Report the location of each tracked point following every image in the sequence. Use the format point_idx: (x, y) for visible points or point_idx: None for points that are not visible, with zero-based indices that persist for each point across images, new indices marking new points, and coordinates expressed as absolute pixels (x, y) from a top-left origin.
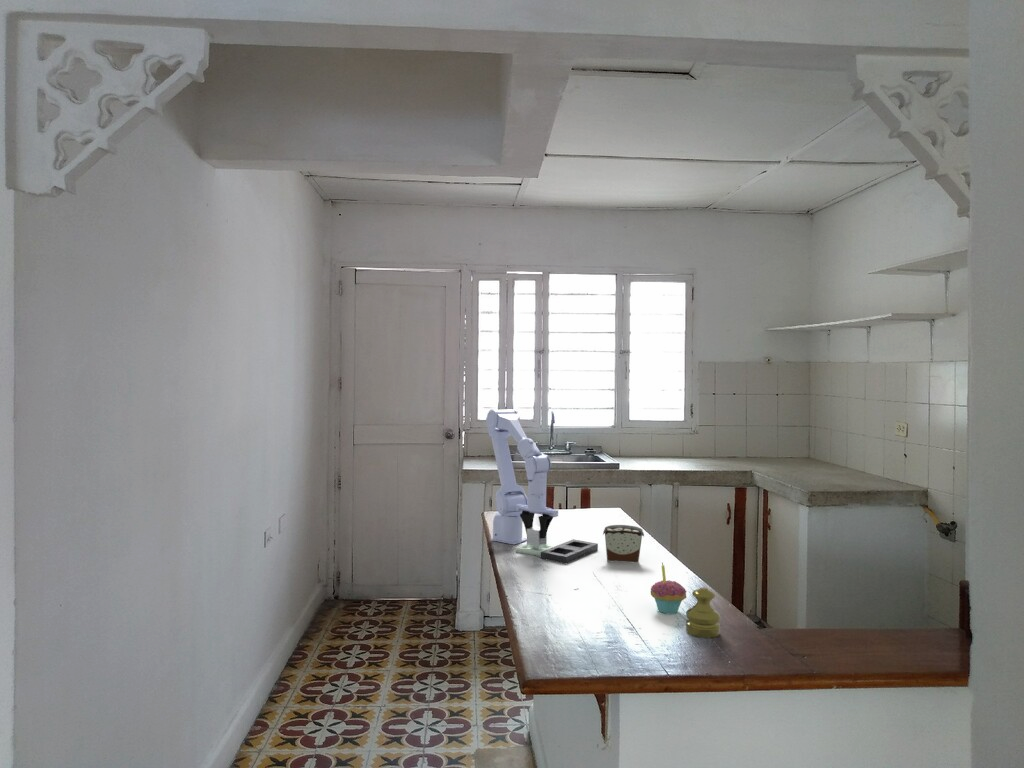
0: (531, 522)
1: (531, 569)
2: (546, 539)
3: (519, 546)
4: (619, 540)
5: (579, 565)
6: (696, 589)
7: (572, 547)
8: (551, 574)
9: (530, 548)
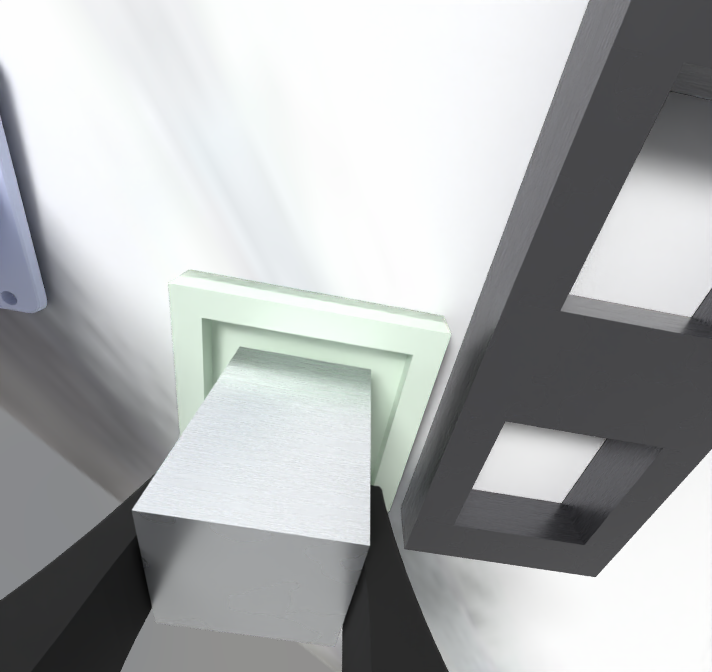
0: (86, 635)
1: None
2: (370, 414)
3: None
4: None
5: (655, 534)
6: None
7: (643, 370)
8: (520, 646)
9: None
